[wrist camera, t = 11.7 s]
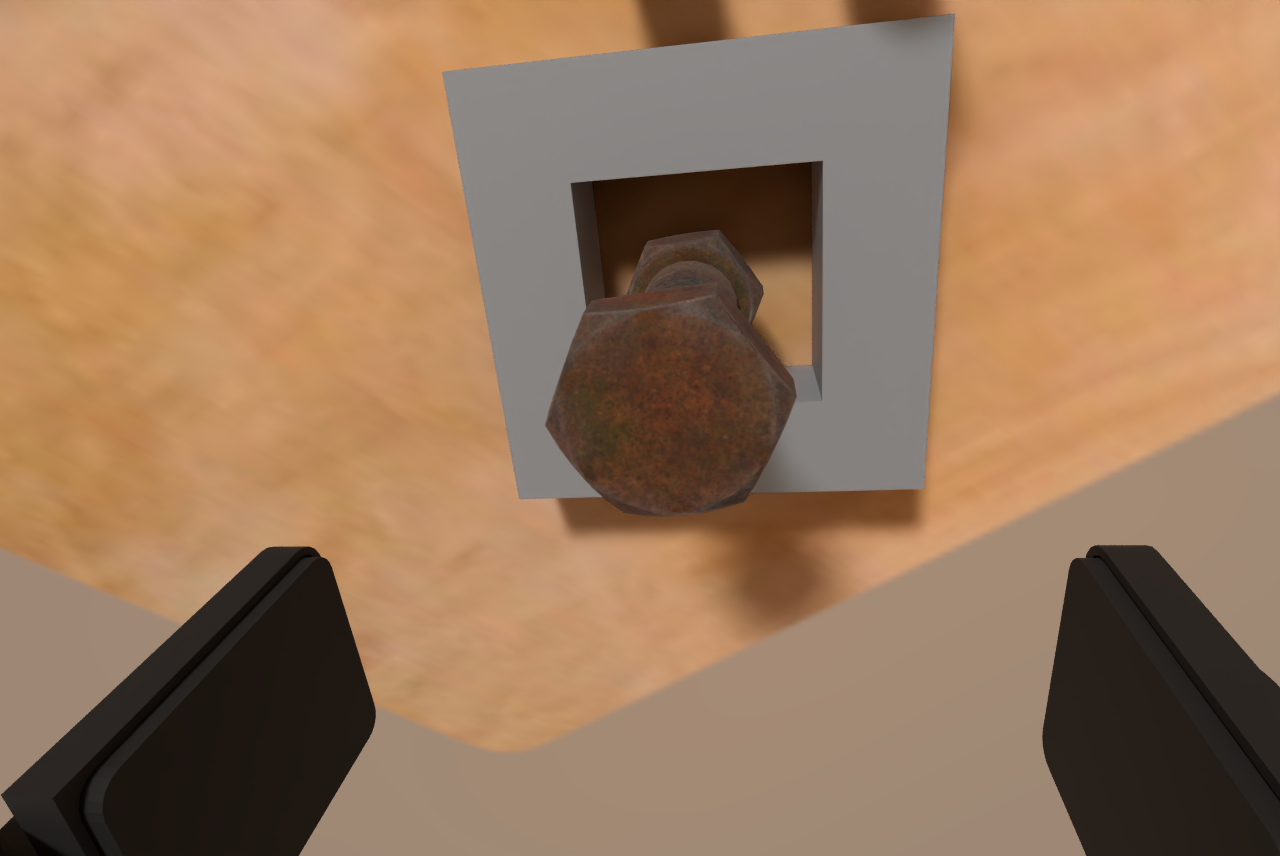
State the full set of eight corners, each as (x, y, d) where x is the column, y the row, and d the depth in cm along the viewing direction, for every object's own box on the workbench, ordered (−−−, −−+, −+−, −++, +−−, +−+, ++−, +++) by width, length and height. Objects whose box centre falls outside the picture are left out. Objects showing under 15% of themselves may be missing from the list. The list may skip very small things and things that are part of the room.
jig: (924, 25, 26) (954, 13, 22) (902, 444, 32) (923, 489, 28) (480, 74, 28) (442, 71, 24) (542, 456, 34) (519, 499, 31)
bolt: (638, 340, 32) (563, 527, 18) (616, 220, 30) (514, 327, 16) (776, 322, 31) (808, 505, 17) (763, 196, 29) (787, 288, 15)
